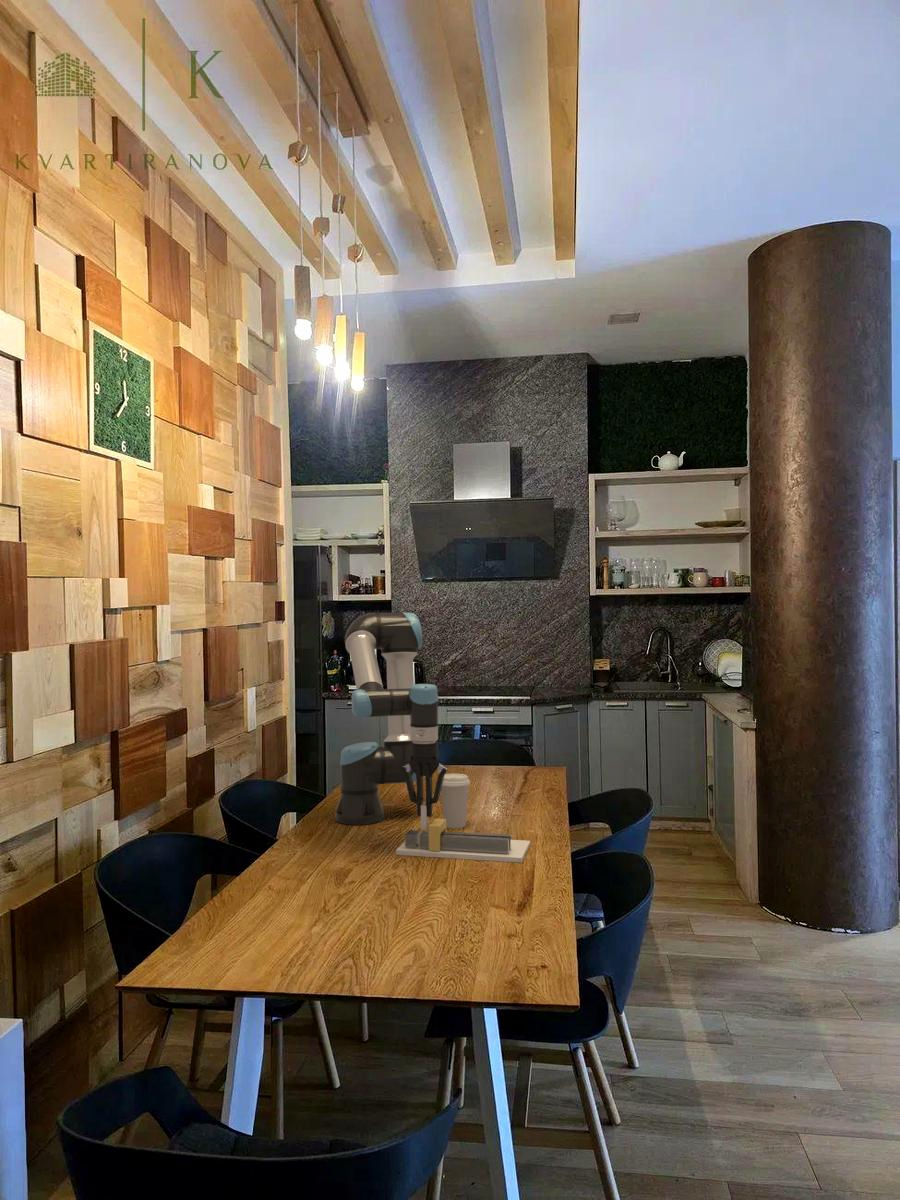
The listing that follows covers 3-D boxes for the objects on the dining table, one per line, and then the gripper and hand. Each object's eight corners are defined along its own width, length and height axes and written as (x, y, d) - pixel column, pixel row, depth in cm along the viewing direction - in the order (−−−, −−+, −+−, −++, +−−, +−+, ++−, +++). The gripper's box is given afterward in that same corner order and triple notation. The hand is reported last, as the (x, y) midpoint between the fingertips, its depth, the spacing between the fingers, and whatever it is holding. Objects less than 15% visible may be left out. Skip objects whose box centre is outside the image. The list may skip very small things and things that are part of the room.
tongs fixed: (405, 847, 226) (405, 834, 226) (409, 842, 230) (409, 829, 230) (507, 853, 220) (507, 840, 220) (510, 848, 224) (510, 835, 224)
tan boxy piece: (428, 850, 223) (428, 825, 223) (435, 842, 231) (435, 818, 231) (439, 850, 223) (439, 826, 223) (446, 842, 230) (446, 819, 230)
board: (395, 854, 224) (395, 850, 224) (412, 838, 240) (412, 834, 240) (521, 862, 217) (521, 858, 217) (530, 845, 232) (530, 840, 232)
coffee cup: (433, 827, 251) (432, 777, 251) (448, 820, 260) (447, 771, 260) (461, 831, 247) (461, 780, 247) (476, 823, 255) (475, 774, 255)
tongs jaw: (422, 845, 227) (421, 832, 227) (423, 843, 229) (423, 830, 229) (510, 849, 223) (510, 836, 223) (510, 847, 225) (510, 834, 225)
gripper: (397, 743, 225) (397, 830, 225) (444, 744, 222) (445, 833, 223) (404, 738, 233) (405, 823, 233) (450, 739, 230) (451, 825, 230)
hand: (424, 828), depth 228 cm, fingers closed
